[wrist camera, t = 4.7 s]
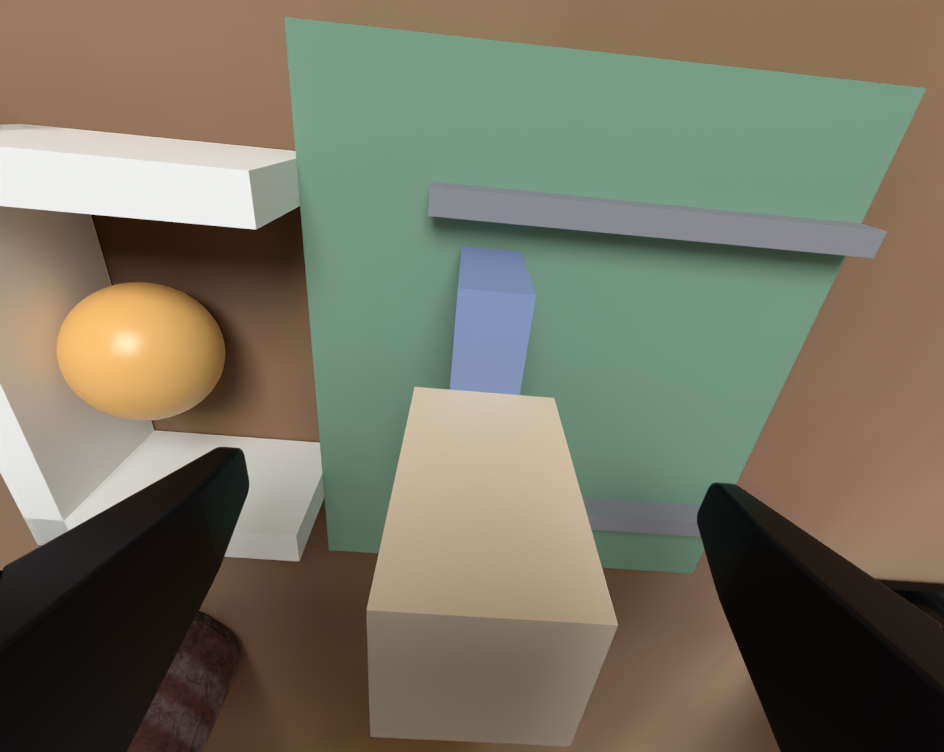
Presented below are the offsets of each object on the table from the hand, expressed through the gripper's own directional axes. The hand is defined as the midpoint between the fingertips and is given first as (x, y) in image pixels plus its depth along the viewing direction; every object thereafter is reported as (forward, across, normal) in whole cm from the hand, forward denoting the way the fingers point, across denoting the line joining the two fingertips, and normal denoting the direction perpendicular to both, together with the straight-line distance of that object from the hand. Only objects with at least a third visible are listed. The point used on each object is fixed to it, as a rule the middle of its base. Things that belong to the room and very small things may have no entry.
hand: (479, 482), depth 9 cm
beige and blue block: (+4, 0, 0) cm, 4 cm away
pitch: (+6, -2, 0) cm, 6 cm away
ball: (+4, +9, 0) cm, 10 cm away
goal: (+6, +8, 0) cm, 10 cm away
